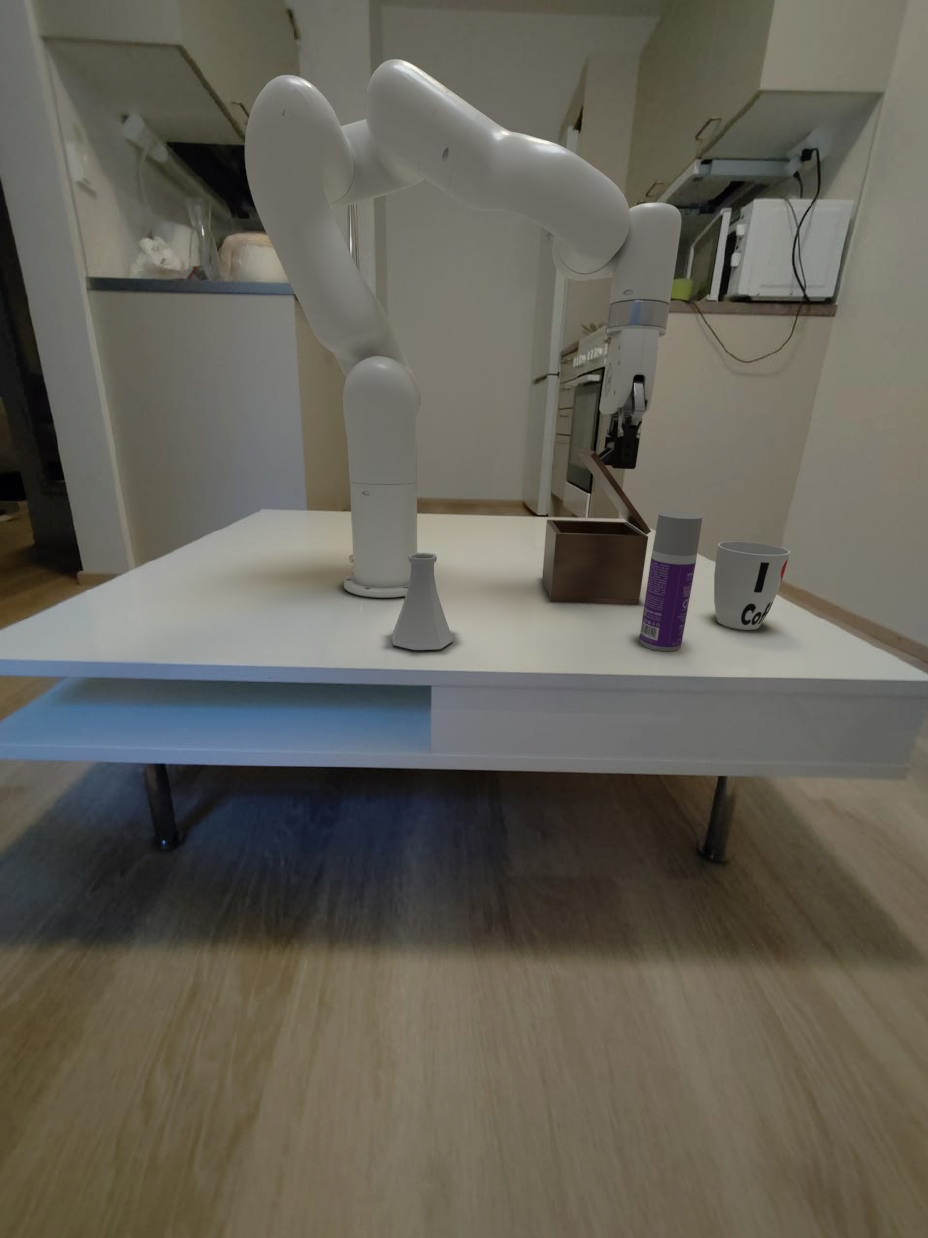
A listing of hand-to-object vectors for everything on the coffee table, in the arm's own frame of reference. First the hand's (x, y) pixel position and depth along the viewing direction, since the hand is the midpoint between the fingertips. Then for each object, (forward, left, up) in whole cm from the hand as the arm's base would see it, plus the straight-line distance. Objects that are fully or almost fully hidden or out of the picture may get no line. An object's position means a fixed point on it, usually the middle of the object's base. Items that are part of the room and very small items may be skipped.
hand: (618, 465), depth 77 cm
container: (+17, -12, -19) cm, 28 cm away
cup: (+19, +3, -19) cm, 27 cm away
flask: (0, -34, -19) cm, 39 cm away
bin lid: (-1, -1, -4) cm, 4 cm away
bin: (-2, -2, -19) cm, 19 cm away
